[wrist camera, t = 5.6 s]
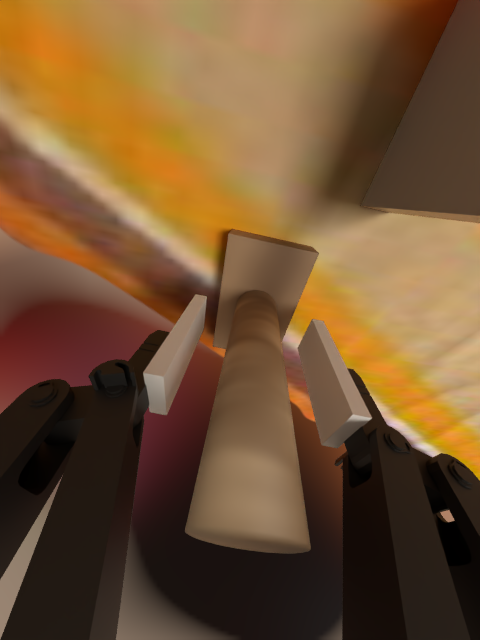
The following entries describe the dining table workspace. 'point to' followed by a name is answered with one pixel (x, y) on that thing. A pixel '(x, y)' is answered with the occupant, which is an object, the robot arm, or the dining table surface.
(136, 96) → the dining table surface
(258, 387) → the tamper
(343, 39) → the dining table surface
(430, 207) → the tile
